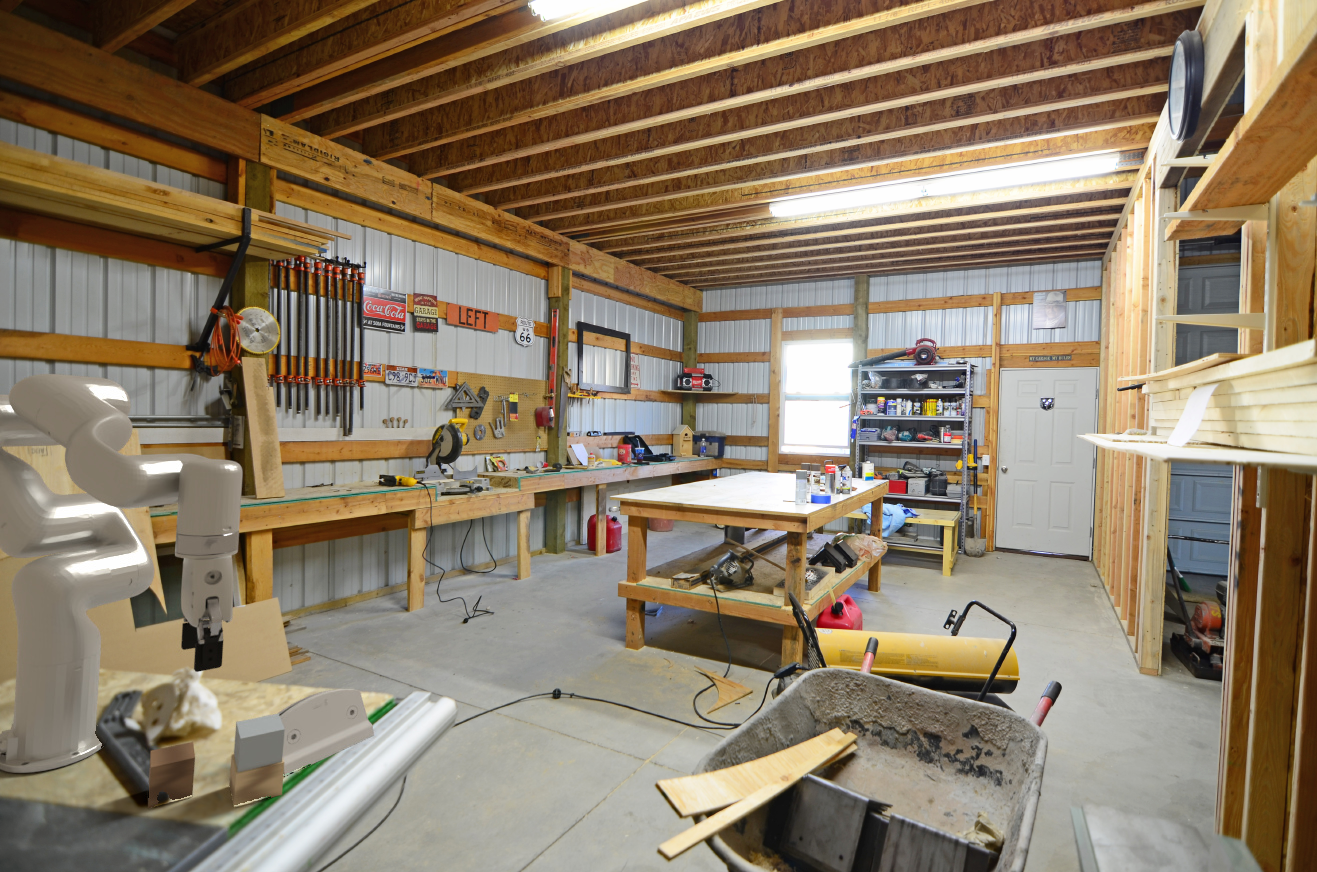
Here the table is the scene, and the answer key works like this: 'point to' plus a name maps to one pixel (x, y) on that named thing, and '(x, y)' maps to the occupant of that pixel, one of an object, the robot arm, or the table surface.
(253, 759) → the grey block
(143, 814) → the table surface
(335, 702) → the beige mounting bracket
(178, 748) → the walnut block
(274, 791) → the oak block
